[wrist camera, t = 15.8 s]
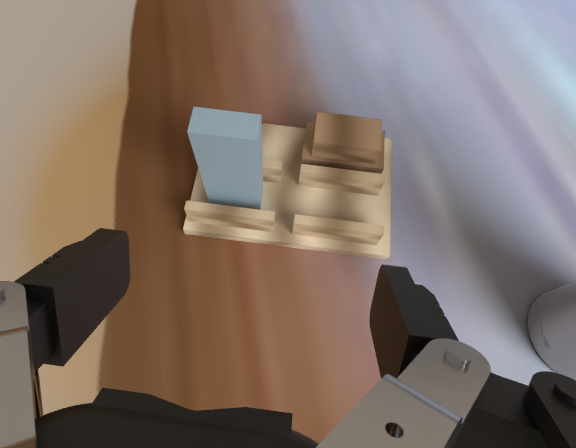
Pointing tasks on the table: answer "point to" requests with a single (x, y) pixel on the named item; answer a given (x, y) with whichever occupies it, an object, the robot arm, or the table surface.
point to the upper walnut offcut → (347, 137)
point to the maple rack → (303, 203)
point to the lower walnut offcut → (338, 163)
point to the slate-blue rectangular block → (228, 156)
